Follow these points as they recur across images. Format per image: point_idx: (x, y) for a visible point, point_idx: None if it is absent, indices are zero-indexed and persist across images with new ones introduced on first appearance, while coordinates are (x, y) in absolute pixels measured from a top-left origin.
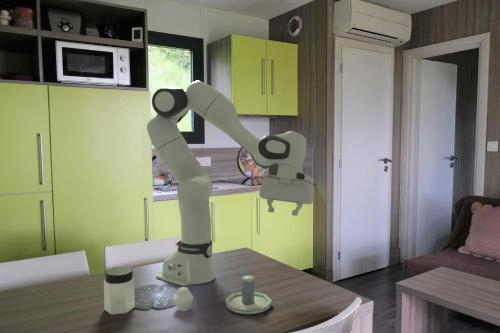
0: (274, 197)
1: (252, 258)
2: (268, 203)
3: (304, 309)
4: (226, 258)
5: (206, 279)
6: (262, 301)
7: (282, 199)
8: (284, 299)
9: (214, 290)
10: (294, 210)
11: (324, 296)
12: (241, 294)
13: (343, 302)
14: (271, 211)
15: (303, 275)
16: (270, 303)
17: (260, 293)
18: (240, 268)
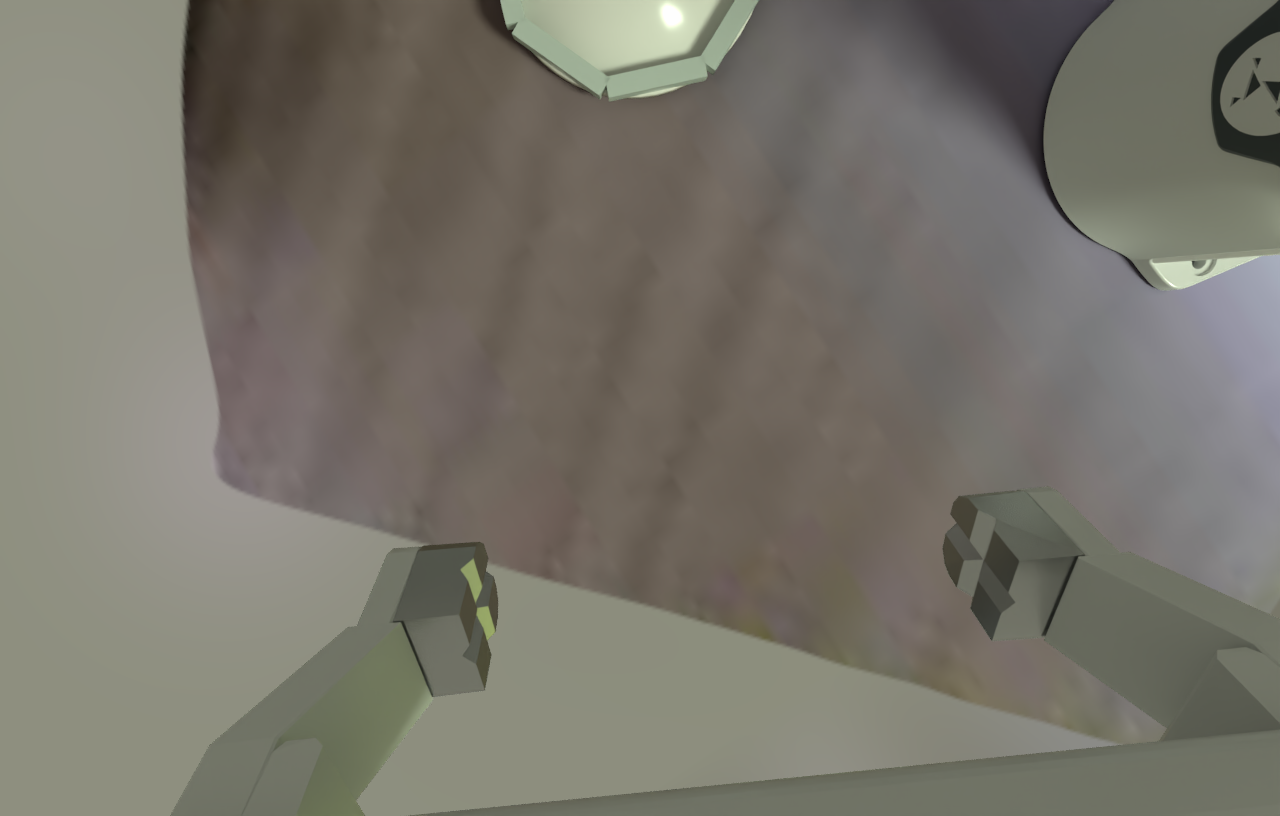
0: (1205, 781)
1: None
2: (1210, 604)
3: (339, 122)
4: (1185, 535)
5: (1070, 84)
6: (567, 14)
7: (823, 777)
8: (509, 177)
9: (938, 20)
10: (409, 610)
11: (354, 362)
12: (729, 10)
13: (227, 350)
14: (966, 495)
15: (622, 571)
16: (500, 1)
17: (631, 86)
18: (1008, 439)
